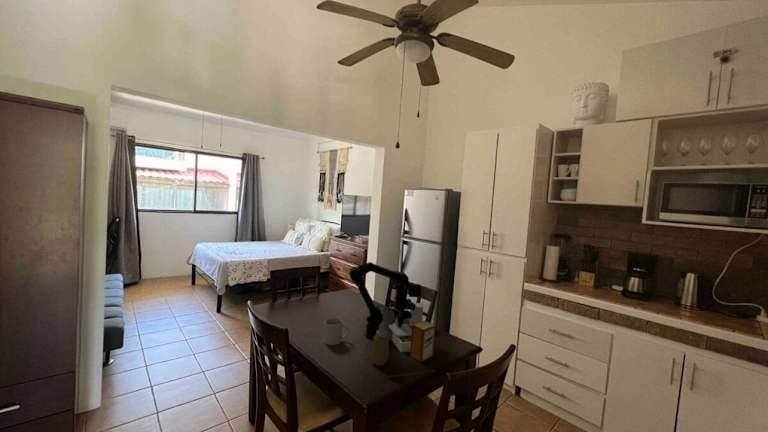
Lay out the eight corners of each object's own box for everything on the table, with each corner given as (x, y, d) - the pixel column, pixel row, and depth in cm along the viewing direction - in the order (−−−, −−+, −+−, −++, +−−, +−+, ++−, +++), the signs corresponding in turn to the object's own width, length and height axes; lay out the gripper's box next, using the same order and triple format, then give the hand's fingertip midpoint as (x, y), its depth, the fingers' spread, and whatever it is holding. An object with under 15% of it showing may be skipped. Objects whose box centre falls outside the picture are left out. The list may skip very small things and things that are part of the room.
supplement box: (421, 329, 178) (422, 307, 177) (408, 327, 179) (410, 305, 179) (422, 324, 185) (423, 303, 184) (409, 322, 186) (411, 301, 186)
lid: (396, 336, 153) (397, 327, 153) (387, 325, 167) (387, 316, 166) (415, 335, 156) (416, 326, 156) (404, 323, 170) (405, 315, 170)
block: (405, 346, 154) (406, 340, 154) (400, 342, 157) (401, 337, 157) (411, 344, 157) (412, 338, 156) (406, 340, 160) (406, 335, 160)
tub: (400, 353, 147) (401, 343, 147) (392, 341, 159) (393, 332, 159) (419, 351, 151) (420, 341, 150) (410, 340, 162) (410, 331, 162)
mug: (319, 342, 152) (321, 322, 152) (330, 335, 161) (331, 316, 161) (339, 348, 148) (340, 327, 148) (348, 340, 157) (349, 321, 157)
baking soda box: (422, 351, 151) (424, 319, 150) (433, 357, 146) (435, 324, 145) (409, 357, 144) (412, 324, 143) (420, 363, 139) (423, 329, 139)
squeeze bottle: (369, 358, 141) (372, 319, 140) (387, 358, 141) (390, 320, 141) (370, 368, 133) (373, 327, 132) (389, 368, 133) (392, 327, 132)
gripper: (422, 301, 158) (419, 331, 158) (408, 290, 175) (405, 317, 176) (402, 302, 154) (399, 333, 155) (389, 291, 172) (387, 318, 173)
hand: (398, 325), depth 165 cm, fingers closed on lid, 3 cm apart
